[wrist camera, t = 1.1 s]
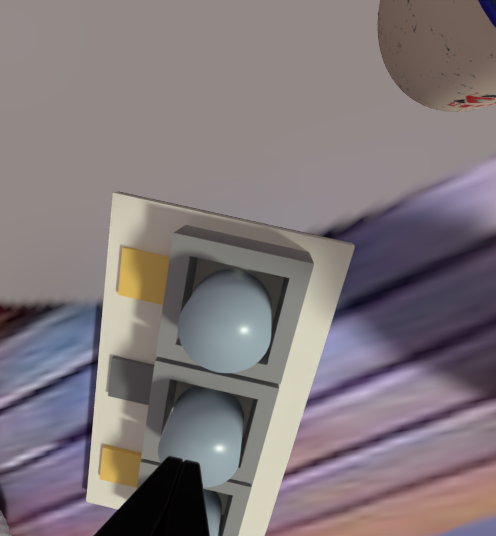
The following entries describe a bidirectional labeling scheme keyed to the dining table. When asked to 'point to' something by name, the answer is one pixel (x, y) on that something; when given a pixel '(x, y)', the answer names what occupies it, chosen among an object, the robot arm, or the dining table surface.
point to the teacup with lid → (441, 51)
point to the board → (189, 372)
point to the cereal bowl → (4, 526)
